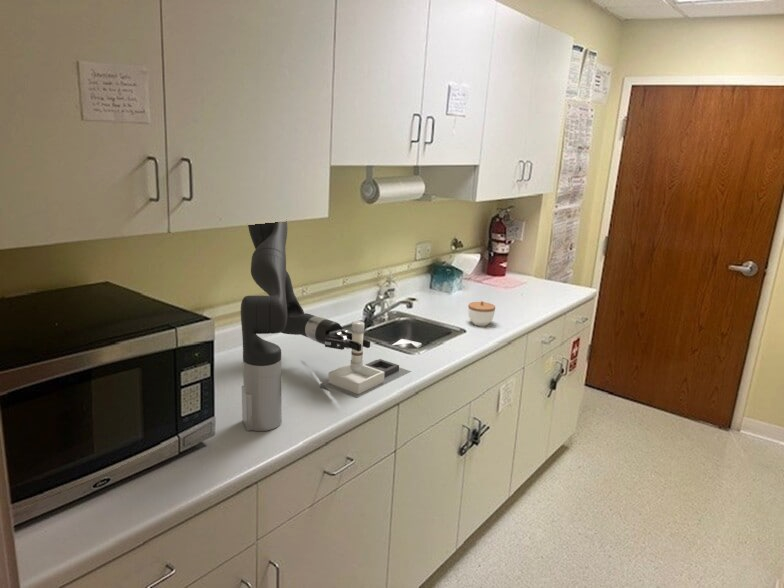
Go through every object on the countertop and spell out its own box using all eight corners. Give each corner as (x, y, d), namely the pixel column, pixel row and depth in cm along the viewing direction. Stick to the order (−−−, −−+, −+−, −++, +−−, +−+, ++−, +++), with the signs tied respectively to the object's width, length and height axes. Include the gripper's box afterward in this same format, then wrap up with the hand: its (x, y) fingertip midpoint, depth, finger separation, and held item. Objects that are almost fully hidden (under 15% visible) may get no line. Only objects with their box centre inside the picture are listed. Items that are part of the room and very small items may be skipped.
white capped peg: (352, 371, 168) (354, 325, 164) (348, 366, 171) (350, 321, 167) (364, 370, 169) (366, 324, 166) (360, 365, 173) (361, 320, 169)
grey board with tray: (356, 401, 161) (357, 387, 160) (320, 387, 169) (320, 373, 168) (411, 374, 181) (411, 361, 180) (376, 363, 189) (376, 350, 188)
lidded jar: (474, 328, 229) (476, 305, 227) (462, 320, 239) (464, 298, 236) (498, 327, 233) (500, 304, 230) (485, 319, 242) (487, 297, 240)
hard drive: (406, 353, 197) (421, 342, 207) (385, 348, 200) (401, 338, 211) (406, 358, 197) (421, 347, 208) (384, 352, 200) (400, 342, 211)
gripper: (306, 324, 171) (348, 339, 160) (340, 314, 181) (381, 328, 171) (305, 348, 173) (347, 364, 162) (339, 337, 183) (380, 352, 173)
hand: (364, 346), depth 166 cm, fingers closed on white capped peg, 3 cm apart
